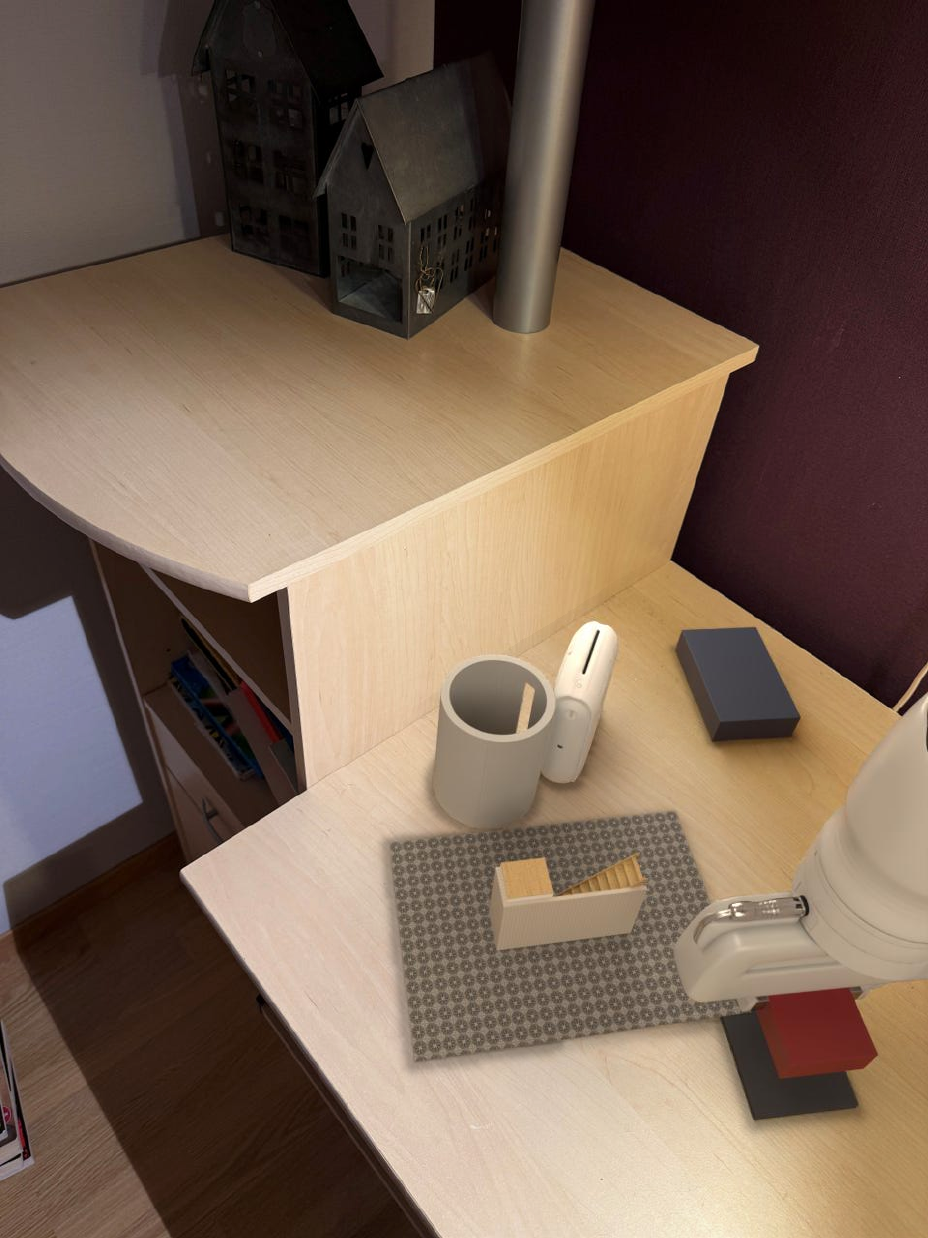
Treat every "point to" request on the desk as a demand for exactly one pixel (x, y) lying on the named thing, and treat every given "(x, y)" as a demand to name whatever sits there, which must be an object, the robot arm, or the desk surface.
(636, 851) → the model
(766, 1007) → the burgundy notebook
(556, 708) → the photo printer
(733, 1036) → the felt pad
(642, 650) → the desk surface
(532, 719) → the cup
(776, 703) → the navy hardback
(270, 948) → the desk surface
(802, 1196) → the desk surface
